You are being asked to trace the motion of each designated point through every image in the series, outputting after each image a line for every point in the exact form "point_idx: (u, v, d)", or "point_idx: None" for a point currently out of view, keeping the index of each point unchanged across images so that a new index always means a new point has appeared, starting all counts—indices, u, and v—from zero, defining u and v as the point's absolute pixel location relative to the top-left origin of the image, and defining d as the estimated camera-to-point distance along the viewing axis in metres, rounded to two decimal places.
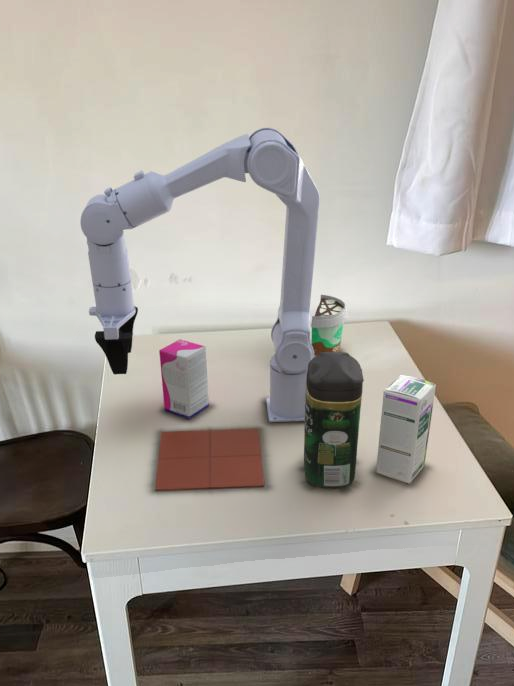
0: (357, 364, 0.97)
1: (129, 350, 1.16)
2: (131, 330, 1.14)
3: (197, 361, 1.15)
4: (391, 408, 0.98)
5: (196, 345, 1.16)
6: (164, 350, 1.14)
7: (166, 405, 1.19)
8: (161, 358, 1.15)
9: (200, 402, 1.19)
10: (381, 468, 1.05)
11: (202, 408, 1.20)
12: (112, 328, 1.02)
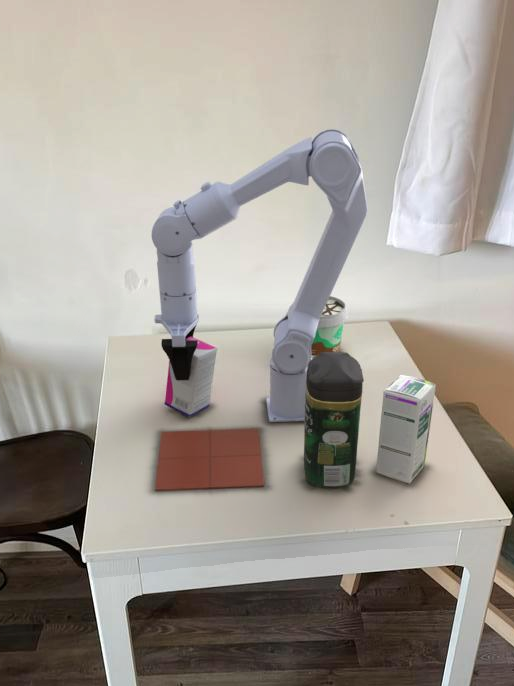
0: (357, 364, 0.97)
1: None
2: None
3: (207, 362, 1.14)
4: (391, 408, 0.98)
5: (208, 345, 1.15)
6: None
7: (167, 400, 1.19)
8: None
9: (202, 401, 1.19)
10: (381, 468, 1.05)
11: (203, 408, 1.20)
12: (180, 336, 1.06)
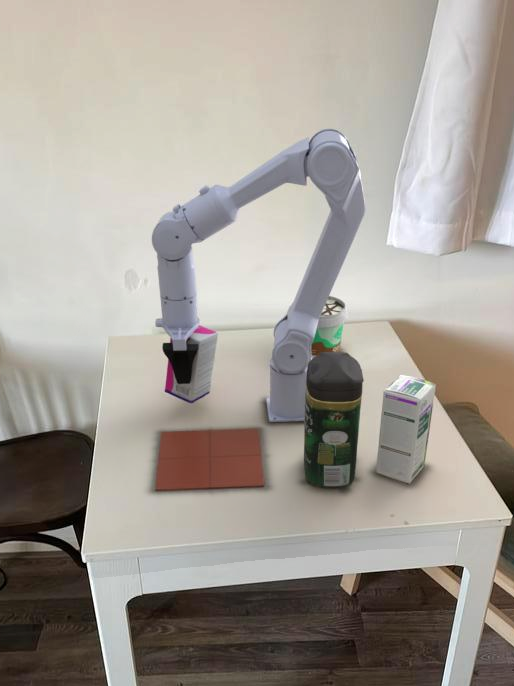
0: (357, 364, 0.97)
1: None
2: None
3: (208, 346, 1.13)
4: (391, 408, 0.98)
5: (208, 330, 1.14)
6: None
7: (167, 387, 1.17)
8: None
9: (203, 388, 1.17)
10: (381, 468, 1.05)
11: (203, 394, 1.19)
12: (181, 340, 1.06)
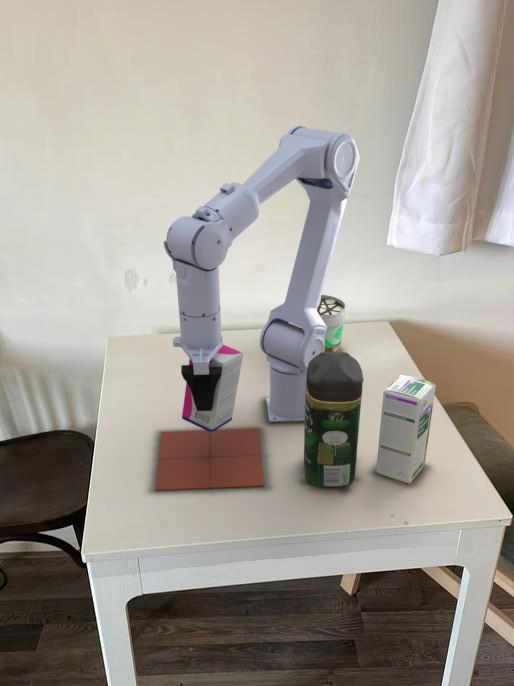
0: (357, 364, 0.97)
1: None
2: None
3: (232, 369, 0.99)
4: (391, 408, 0.98)
5: (232, 350, 1.00)
6: None
7: (185, 413, 1.03)
8: None
9: (225, 414, 1.04)
10: (381, 468, 1.05)
11: (225, 422, 1.05)
12: (203, 362, 0.92)
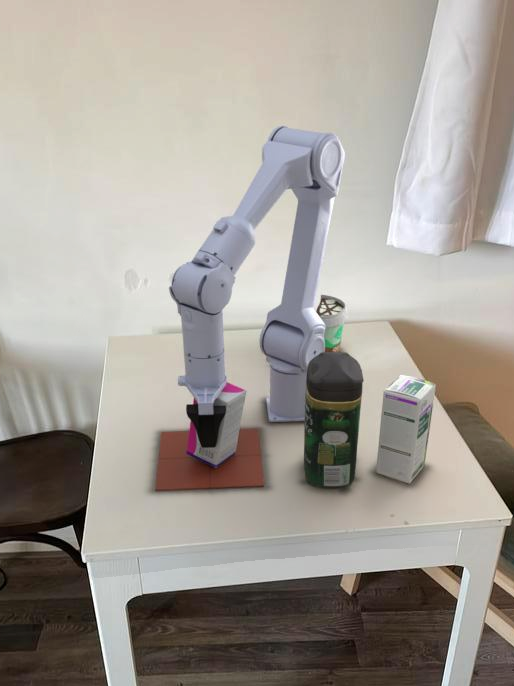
0: (357, 364, 0.97)
1: None
2: None
3: (236, 406, 1.02)
4: (391, 408, 0.98)
5: (236, 388, 1.03)
6: None
7: (189, 448, 1.06)
8: None
9: (229, 449, 1.06)
10: (381, 468, 1.05)
11: (229, 456, 1.07)
12: (208, 403, 0.95)
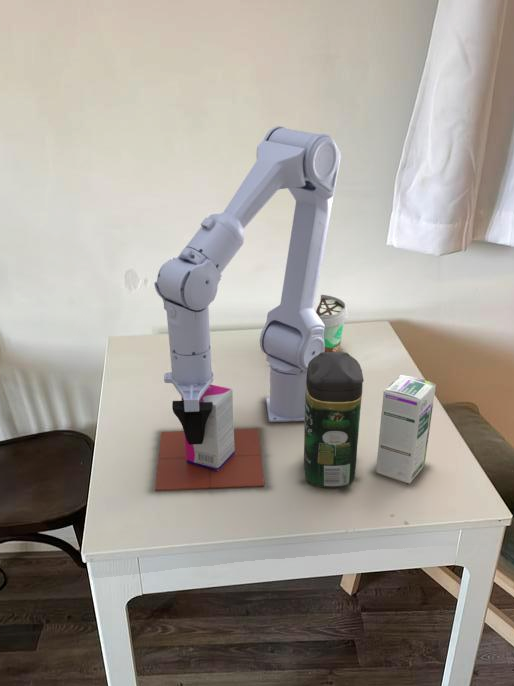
0: (357, 364, 0.97)
1: None
2: None
3: (225, 407, 1.02)
4: (391, 408, 0.98)
5: (221, 388, 1.03)
6: None
7: (189, 457, 1.06)
8: None
9: (227, 450, 1.06)
10: (381, 468, 1.05)
11: (229, 457, 1.07)
12: (193, 400, 0.94)
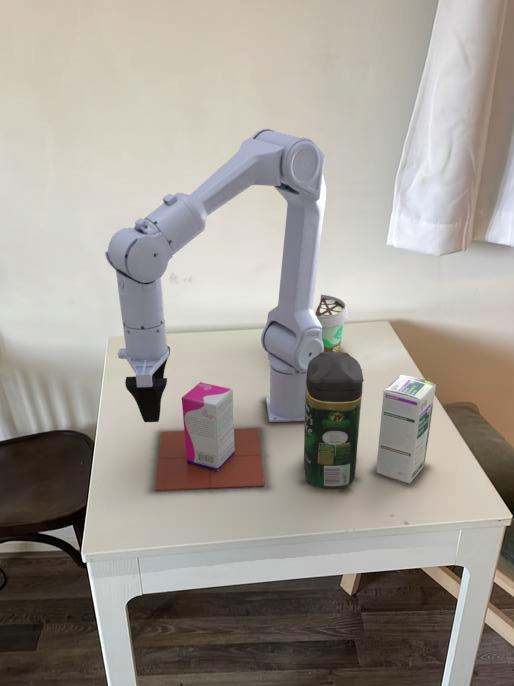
0: (357, 364, 0.97)
1: None
2: (162, 372, 1.04)
3: (225, 407, 1.02)
4: (391, 408, 0.98)
5: (221, 388, 1.03)
6: (188, 397, 1.00)
7: (189, 457, 1.06)
8: (184, 406, 1.01)
9: (227, 450, 1.06)
10: (381, 468, 1.05)
11: (229, 457, 1.07)
12: (145, 375, 0.92)
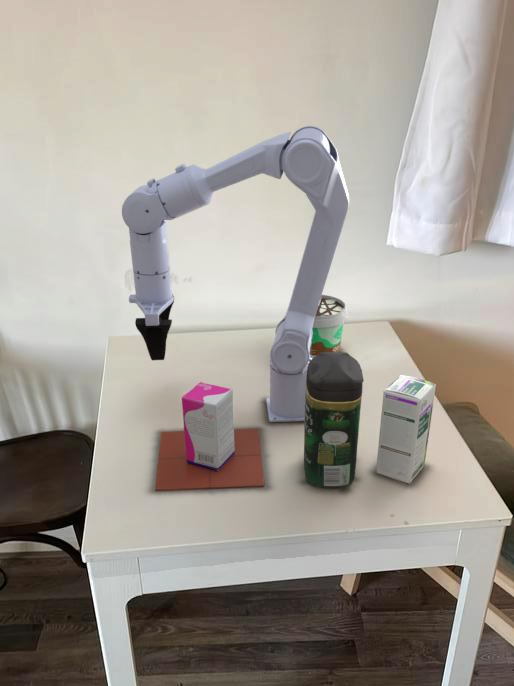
0: (357, 364, 0.97)
1: None
2: (167, 318, 1.17)
3: (225, 407, 1.02)
4: (391, 408, 0.98)
5: (221, 388, 1.03)
6: (188, 397, 1.00)
7: (189, 457, 1.06)
8: (184, 406, 1.01)
9: (227, 450, 1.06)
10: (381, 468, 1.05)
11: (229, 457, 1.07)
12: (153, 314, 1.05)
